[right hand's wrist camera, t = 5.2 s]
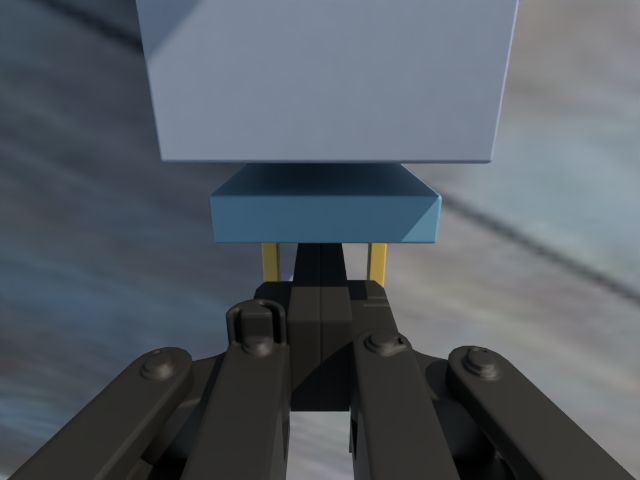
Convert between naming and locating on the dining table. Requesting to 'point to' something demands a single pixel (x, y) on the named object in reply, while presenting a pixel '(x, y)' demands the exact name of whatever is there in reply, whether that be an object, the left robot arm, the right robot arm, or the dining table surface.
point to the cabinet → (326, 79)
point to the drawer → (325, 209)
